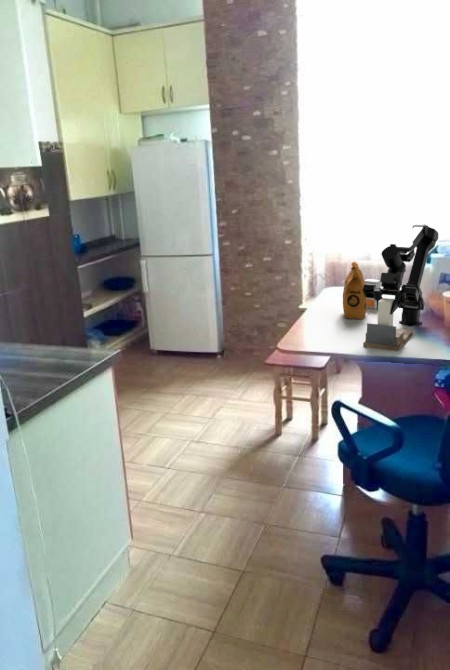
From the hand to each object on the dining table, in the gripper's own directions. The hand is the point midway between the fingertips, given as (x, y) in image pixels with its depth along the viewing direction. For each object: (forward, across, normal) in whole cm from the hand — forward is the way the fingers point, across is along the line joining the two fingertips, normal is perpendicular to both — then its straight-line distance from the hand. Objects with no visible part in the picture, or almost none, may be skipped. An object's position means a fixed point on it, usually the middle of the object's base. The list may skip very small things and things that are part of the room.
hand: (384, 313), depth 193 cm
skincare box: (-26, -20, +43) cm, 54 cm away
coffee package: (-14, -22, +32) cm, 41 cm away
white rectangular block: (+4, 0, +6) cm, 7 cm away
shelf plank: (+4, 0, +13) cm, 13 cm away
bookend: (+9, 0, +5) cm, 11 cm away
